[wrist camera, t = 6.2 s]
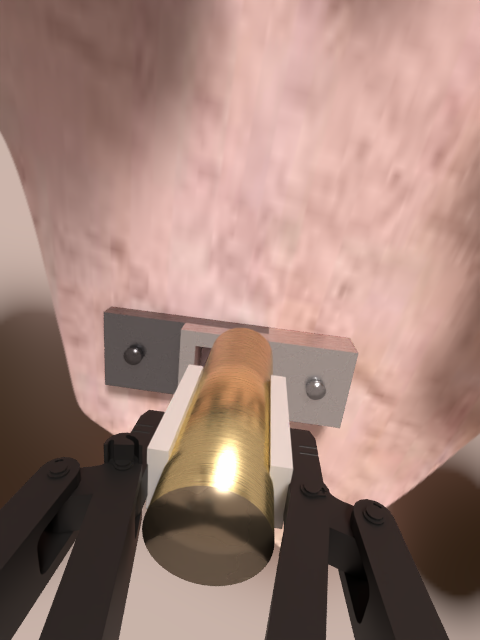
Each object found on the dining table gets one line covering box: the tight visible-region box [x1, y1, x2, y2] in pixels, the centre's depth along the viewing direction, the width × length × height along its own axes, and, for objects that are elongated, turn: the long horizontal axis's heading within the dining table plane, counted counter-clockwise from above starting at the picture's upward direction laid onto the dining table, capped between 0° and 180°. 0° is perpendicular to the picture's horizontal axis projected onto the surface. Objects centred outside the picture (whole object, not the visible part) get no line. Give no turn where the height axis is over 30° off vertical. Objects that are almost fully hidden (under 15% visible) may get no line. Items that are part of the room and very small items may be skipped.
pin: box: [142, 328, 274, 586], centre depth 17 cm, size 4×4×13 cm
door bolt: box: [104, 307, 358, 428], centre depth 39 cm, size 9×27×5 cm, turn 84°
